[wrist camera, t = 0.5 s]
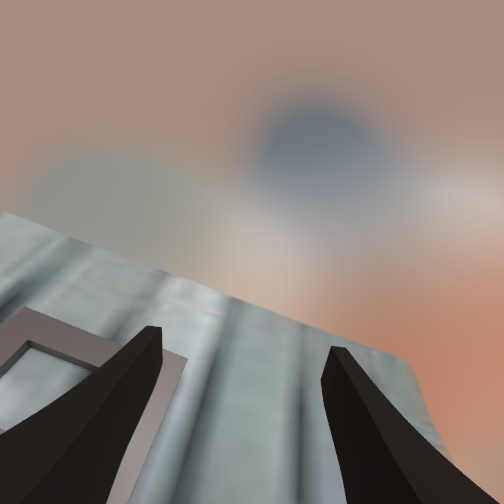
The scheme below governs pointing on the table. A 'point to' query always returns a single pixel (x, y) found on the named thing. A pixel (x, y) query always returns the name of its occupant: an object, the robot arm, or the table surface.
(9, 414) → the table surface
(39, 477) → the robot arm
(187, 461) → the table surface
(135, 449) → the socket panel
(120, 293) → the table surface
